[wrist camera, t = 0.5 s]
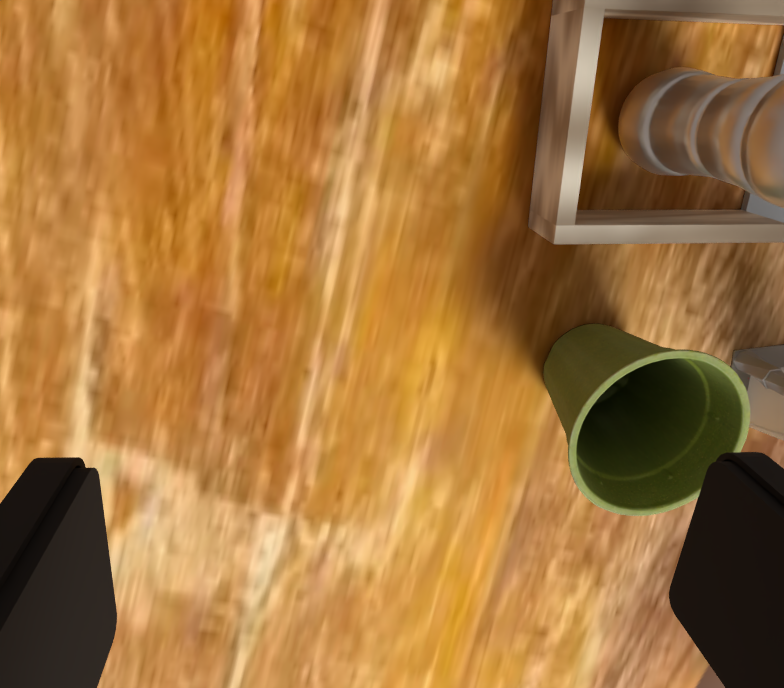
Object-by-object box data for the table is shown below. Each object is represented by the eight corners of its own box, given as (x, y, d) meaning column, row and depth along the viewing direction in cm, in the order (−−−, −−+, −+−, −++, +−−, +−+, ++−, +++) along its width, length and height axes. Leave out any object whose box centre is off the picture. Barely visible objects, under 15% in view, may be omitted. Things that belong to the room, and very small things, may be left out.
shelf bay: (553, -6, 38) (587, -18, 33) (790, 4, 40) (853, -6, 35) (527, 226, 44) (553, 244, 39) (736, 225, 46) (784, 242, 41)
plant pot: (687, 348, 49) (787, 419, 39) (582, 452, 52) (650, 544, 42) (590, 260, 45) (673, 313, 35) (482, 377, 48) (530, 459, 38)
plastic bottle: (647, 46, 40) (934, 20, 22) (719, 103, 42) (1037, 124, 24) (587, 137, 42) (805, 183, 23) (659, 188, 44) (911, 266, 25)
